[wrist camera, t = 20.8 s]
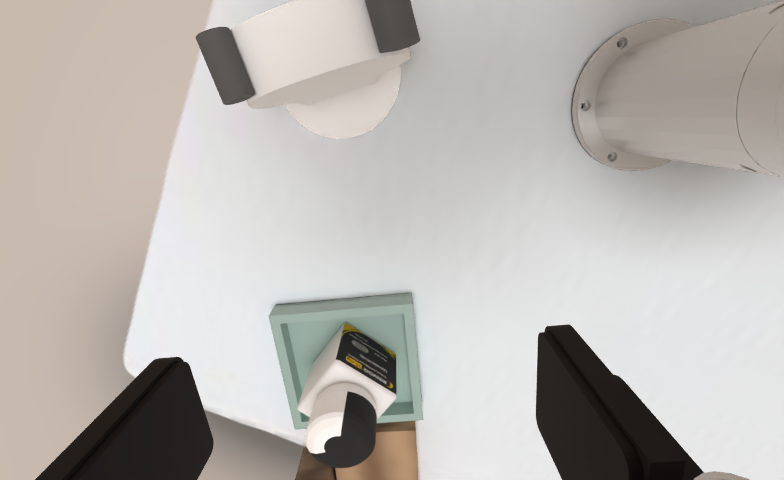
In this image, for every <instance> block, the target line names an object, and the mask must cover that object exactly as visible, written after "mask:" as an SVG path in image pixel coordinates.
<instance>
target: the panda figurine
mask: <svg viewBox="0 0 784 480" xmlns="http://www.w3.org/2000/svg"><path fill="white" fill-rule="evenodd" d="M196 40H197V42H198V44H199V47H200V49H201V52H202V54H203V56H204V59H205V61H206V63H207V66H208V68H209V71H210V73H211V75H212V78H213V80H214V83H215V85H216V87H217V90H218V92H219V94H220V97H221V99H222V102H223V104H225V105H231V104H235V103H239V102H242V101H245V100H247V102H248V105H249V107H250V108H252V109H264V108H271V107H276V106H281V105H285V107H286V108H287V110H288V111H289V113H290V114H291V115H292V116H293V117H294V118H295V120H296V121H298V122H299V123H300V124H301V125H302V126H304V127H305V128H306V129H308V130H310V131H311V132H313V133H315V134H318V135H320V136H323V137H327V138H333V139H348V138H354V137H357V136H360V135H363V134H365V133H367V132H369V131H370V130H372V129H374V128H375V127H376V126H377V125H379V124H380V123H381V122H382V121H383V120H384V119H385V117H386V116H387V115H388V113H389V112H390V110H391V109H392V107H393V105H394V103H395V101H396V98H397V95H398V92H399V87H400V80H401V64H403V63H404V62H406V61H408V60H409V59H410V58H411V56H410V52H409V48H408V47H410V46H412V45H414V44H416V43H418V42H419V41H420V38H419V34H418V30H417V26H416V22H415V18H414V14H413V10H412V6H411V2H410V0H294V1H291V2H288V3H286V4H283V5H280V6H278V7H275V8H273V9H270V10H268V11H265V12H263V13H261V14H258V15H256V16H254V17H252V18H249V19H247V20H245V21H244V22H242V23H240V24H238V25H237V26H235V27H234V28H233V29H231V30H230V29H229V28H227V27H217V28H212V29H209V30H206V31H203V32H201V33H199V34H198V35H197V36H196Z"/></svg>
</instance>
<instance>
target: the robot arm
mask: <svg viewBox="0 0 784 480" xmlns="http://www.w3.org/2000/svg"><path fill="white" fill-rule="evenodd" d="M617 42H618V43H619V46H618V47H617ZM581 104H583V108H582V109H581ZM572 115H573V125H574V128H575V131H576V135H577V137H578V139H579V141H580V143H581V145H582V146H583V148H584V149H585V150H586V151H587V152H588V153H589V154H590V156H592V157H593V158H595V159H596V160H597V161H599V162H600V163H603V164H605V165H607V166H609V167H613V168H617V169H621V170H631V171H636V170H646V169H650V168H654V167H657V166H660V165H663V164H665V163H667V162H669V161H671V160H676V161H683V162H689V163H696V164H702V165H709V166H715V167H722V168H728V169H735V170H741V171H748V172H754V173H761V174H767V175H774V176H781V177H784V0H782V1H779V2H776V3H772V4H769V5H766V6H762V7H759V8H756V9H752V10H749V11H746V12H742V13H739V14H736V15H733V16H729V17H726V18H723V19H719V20H716V21H713V22H709V23H706V24H703V25H699V26H696V27H694V26H692V25H689V24H687V23H685V22H682V21H677V20H673V19H656V20H651V21H646V22H642V23H639V24H637V25H634V26H631V27H629V28H627V29H625V30H623V31H621V32H619V33H617V34H616V35H614V36H613V37H612V38H610V39H609V40H608V41H607V42H605V43H604V44H603V45H602V46H601V47H600V48H599V49H598V50H597V51H596V52H595V53H594V54H593V56H592V57H591V58H590V60H589V61H588V63H587V64H586V66H585V67H584V69H583V71H582V73H581V75H580V78H579V80H578V82H577V85H576V89H575V93H574V96H573V106H572ZM608 155H610V156H609V158H608ZM536 420H537V425H538V428H539V431H540V433H541V435H542V437H543V439H544V441H545V444H546V446H547V448H548V450H549V452H550V454H551V457H552V459H553V461H554V463H555V465H556V467H557V469H558V472H559V474H560V476H561V478H562V480H749V479H747V478H743V477H740V476H737V475H734V474H731V473H723V472H715V471H714V472H708V473H704V472H703V471H702V470H701V469H700V468H699V466H698V465H697V464H696V463H695V462H694V461H693V460H692V458H691V457H690V456H689V455H688V454H687V453H686V452H685V450H684V449H683V448H682V447H681V446H680V445H679V444H678V442H677V441H676V440H675V439H674V438H673V437H672V435H671V434H670V433H669V432H668V431H667V430H666V429H665V427H664V426H663V425H662V424H661V423H660V422H659V421H658V419H657V418H656V417H655V416H654V415H653V414H652V413H651V411H650V410H649V409H648V408H647V407H646V406H645V404H644V403H643V402H642V401H641V400H640V399H639V398H638V396H637V395H636V394H635V393H634V392H633V391H632V390H631V388H630V387H629V386H628V385H627V384H626V383H625V382H624V381H623V380H622V379H621V378H620V377H619V376H616V375H613V374H612V373H611V372H610V371H609V369H608V368H607V367H606V366H605V365H604V364H603V362H602V361H601V360H600V359H599V358H598V356H597V355H596V354H595V353H594V352H593V351H592V349H591V348H590V347H589V346H588V345H587V344H586V342H585V341H584V340H583V339H582V338H581V336H580V335H579V334H578V333H577V332H576V331H575V329H574V328H573V327H572V326H571V325H558V326H547V327H546V328H545V332H542V333H539V335H538V360H537V395H536ZM212 449H213V437H212V434H211V431H210V428H209V424H208V421H207V418H206V415H205V412H204V409H203V406H202V403H201V400H200V397H199V393H198V390H197V387H196V384H195V381H194V378H193V375H192V372H191V369H190V366H189V364H188V363H187V362H184V361H183V360H182V359H181V358H180V357H171V358H159V359H155V360H154V361H152V362H151V363H150V364H149V365H148V366H147V367H146V368H145V369H144V370H143V371H142V372H141V373H140V374H139V375H138V376H137V377H136V378H135V380H134V381H132V382H131V383H130V385H129V386H127V387H126V389H125V390H124V391H123V392H122V393H121V394H120V395H119V396H118V397H117V398H116V399H115V400H114V401H113V402H112V403H111V404H110V405H109V406H108V407H107V408H106V409H105V410H104V411H103V412H102V413H101V414H100V415H99V416H98V417H97V418H96V419H95V420H94V421H93V422H92V423H91V424H90V425H89V426H88V427H87V428H86V429H85V430H84V431H83V432H82V433H81V434H80V435H79V436H78V437H77V438H76V439H75V440H74V441H73V442H72V443H71V444H70V445H69V446H68V447H67V448H66V449H65V450H64V451H63V452H62V453H61V454H60V455H59V456H58V457H57V458H56V459H55V460H54V461H53V462H52V463H51V464H50V465H49V466H48V467H47V468H46V469H45V471H43V472H42V473H41V474H40V475H39V476H38V477H37V478H36V479H35V480H197V479H198V477H199V475H200V474H201V472H202V470H203V468H204V466H205V464H206V462H207V461H208V459H209V457H210V455H211V452H212Z"/></svg>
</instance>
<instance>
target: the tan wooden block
mask: <svg viewBox="0 0 784 480" xmlns="http://www.w3.org/2000/svg"><path fill="white" fill-rule="evenodd" d="M335 470H336V477H337V480H418V466H417V449H416V431H415V421H401V422H388V423H377V425H376V442H375V448H374V450H373V452H372V454H371V455H370V456H369V457H368V458H367V459H366V460H365V461H363V462H362V463H360V464H358V465H356V466H353V467H349V468H335Z"/></svg>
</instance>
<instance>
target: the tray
mask: <svg viewBox="0 0 784 480" xmlns="http://www.w3.org/2000/svg"><path fill="white" fill-rule="evenodd" d="M269 320H270V324H271V328H272V333H273V337H274V341H275V346H276V350H277V354H278V359H279V363H280V367H281V372H282V376H283V380H284V385H285V389H286V393H287V398H288V402H289V406H290V411H291V415H292V419H293V424H294V428H295V429H307V426H308V423H309V419H310V417H308V416H307V415H305V414H303V413H301V412H299V411H298V409H297V407H298V404H299V401H300V398H301V395H302V392H303V389H304V386H305V383H306V380H307V377H308V374H309V371H310V368H311V365H312V363H313V362H314V361H315V359H316V358H317V357H318V356H319V354H320V353H321V352H322V351H323V349H324V348H325V347H326V346H327V344H328V343H329V342H330V340H331V339H332V338H333V337H334V335H335V334H336V333H337V332H338V330H339V329H340V328H341V327H342V325H343V324H344V323H348V324H350V325H351V326H353V327H354V328H356V329H358V330H359V331H361V332H362V333H364V334H366V335H367V336H369V337H370V338H372V339H373V340H375V341H377V342H378V343H380V344H381V345H383V346H385V347H386V348H388V349H389V350H391V351H393V352H394V353H395V354H396V383H397V397H396V399H395V401H394V402H393V403H392V404H391V405H390V406H389V407H388V408H387V409H386V410H385V412H384V413H383V414H382V415H381V416H380V417H379V418H378V419H377V423H388V422H401V421H415V420H423V411H422V400H421V390H420V379H419V368H418V357H417V346H416V335H415V324H414V313H413V302H412V293H404V294H392V295H381V296H369V297H358V298H346V299H335V300H323V301H312V302H300V303H289V304H278V305H275V307H274V309H273V310H272V312H271V313H270V315H269Z"/></svg>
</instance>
